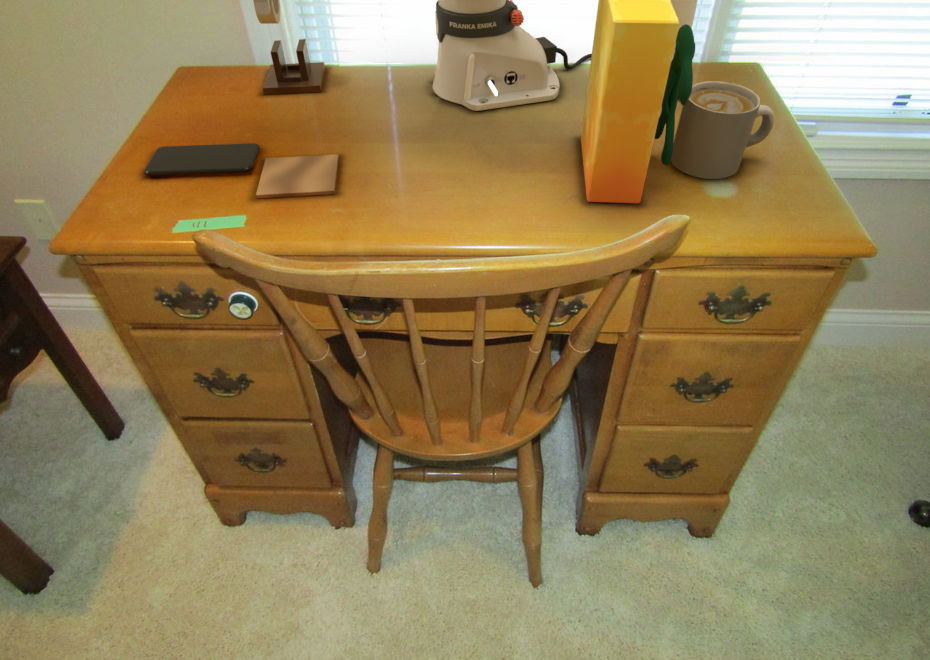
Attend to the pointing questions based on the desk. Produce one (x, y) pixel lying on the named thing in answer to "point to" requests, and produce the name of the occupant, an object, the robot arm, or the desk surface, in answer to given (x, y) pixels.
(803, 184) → the desk surface
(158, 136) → the desk surface
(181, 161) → the smartphone
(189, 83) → the desk surface
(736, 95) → the coffee mug
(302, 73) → the stand
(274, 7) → the tape roll
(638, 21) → the mottled yellow carton
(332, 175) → the cork pad
